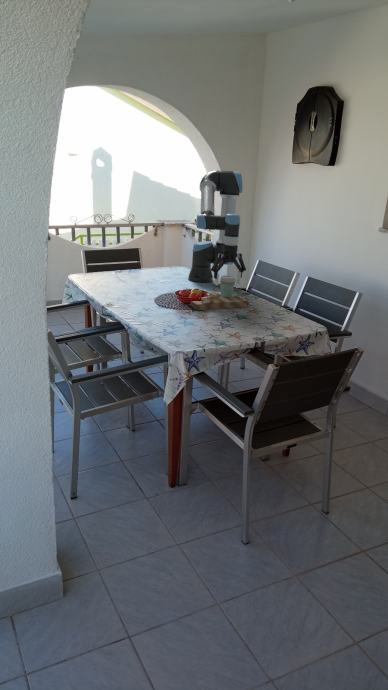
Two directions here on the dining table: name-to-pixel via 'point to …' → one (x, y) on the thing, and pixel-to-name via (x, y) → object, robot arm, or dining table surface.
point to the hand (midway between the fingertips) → (227, 284)
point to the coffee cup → (227, 285)
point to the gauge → (213, 297)
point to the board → (220, 303)
